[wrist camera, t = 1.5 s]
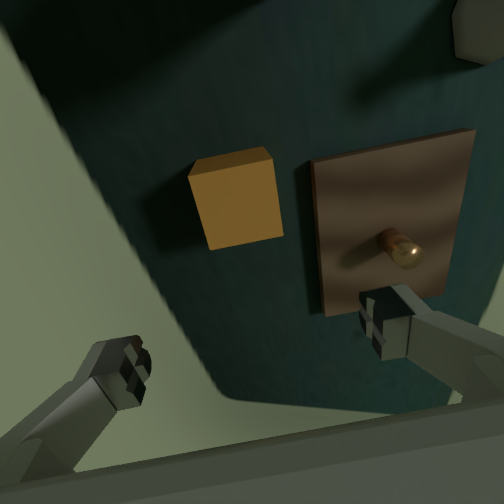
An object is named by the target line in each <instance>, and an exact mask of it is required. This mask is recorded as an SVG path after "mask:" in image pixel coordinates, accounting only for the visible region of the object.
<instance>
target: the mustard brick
mask: <svg viewBox="0 0 504 504" xmlns="http://www.w3.org/2000/svg"><path fill="white" fill-rule="evenodd" d="M188 179H189V182H190V185H191V189H192V192H193V195H194V199H195V202H196V205H197V209H198V212H199V215H200V219H201V222H202V225H203V229H204V232H205V235H206V239H207V242H208V245H209V249H210V250H214V249H219V248H224V247H229V246H234V245H239V244H244V243H249V242H254V241H259V240H264V239H269V238H274V237H279V236H283V229H282V222H281V215H280V208H279V201H278V194H277V187H276V180H275V173H274V166H273V159H272V158H271V156H270V155H269V154H268V152H267V151H266V150H265V148H264V147H263V146H261V147H257V148H252V149H247V150H242V151H237V152H233V153H228V154H223V155H218V156H214V157H209V158H204V159H199V160H196V162H195V164H194V166H193V168H192V170H191V172H190V174H189V175H188Z"/></svg>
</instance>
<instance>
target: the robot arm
mask: <svg viewBox="0 0 504 504" xmlns="http://www.w3.org/2000/svg"><path fill="white" fill-rule="evenodd" d="M359 301H360V303H361V304H362V306H361V308H360V309H359V319H360V323H361V326H362V328H363V331H364V332H365V334H366V336H368V337H370V338H372V346H373V348H374V349H375V351H376V353H377V354H378V356H379V358H380V359H381V361H383V360H389V359H396V358H402V357H407V358H408V359H409V360H411V361H412V362H414V363H415V364H417V365H418V366H420V367H421V368H423V369H424V370H426V371H427V372H429V373H430V374H432V375H433V376H435V377H436V378H438V379H439V380H440V381H442V382H443V383H445V384H446V385H448V386H449V387H451V388H452V389H454V390H455V391H457V392H458V393H460V394H461V395H463V397H462V401H461V403H457V404H451V405H446V406H440V407H435V408H429V409H424V410H418V411H413V412H407V413H402V414H396V415H391V416H385V417H380V418H374V419H369V420H363V421H358V422H353V423H348V424H342V425H336V426H331V427H325V428H320V429H315V430H309V431H304V432H298V433H292V434H287V435H282V436H276V437H271V438H265V439H260V440H254V441H248V442H243V443H237V444H232V445H227V446H221V447H215V448H210V449H204V450H199V451H193V452H188V453H182V454H177V455H171V456H166V457H160V458H155V459H149V460H144V461H138V462H133V463H127V464H122V465H116V466H111V467H106V468H100V469H94V470H88V471H83V472H77V473H76V472H75V471H74V470H73V468H74V467H75V466H76V464H77V463H78V462H79V461H80V459H81V458H82V456H83V455H84V454H85V453H86V451H87V450H88V449H89V448H90V446H91V445H92V444H93V443H94V441H95V440H96V439H97V437H98V436H99V435H100V433H101V432H102V431H103V430H104V428H105V427H106V426H107V425H108V423H109V422H110V421H111V420H112V418H113V417H114V416H115V414H116V413H117V411H119V410H124V409H129V408H133V407H137V406H141V403H142V400H143V397H144V393H145V390H146V387H145V385H144V382H145V381H146V380H147V379H148V378H149V377H150V373H151V358H150V355H149V353H148V351H147V350H145V349H143V348H142V347H141V346H142V344H143V341H142V340H141V338H140V336H138V335H133V336H127V337H122V338H115V339H110V340H105V341H99V342H96V343H95V344H93V345H92V347H91V349H90V351H89V352H88V354H87V356H86V358H85V360H84V361H83V363H82V365H81V366H80V368H79V370H78V372H77V373H76V375H75V377H74V379H73V380H72V381H69V382H67V383H66V384H64V386H62V387H61V388H60V389H59V390H58V391H56V392H55V393H54V394H53V395H51V396H50V397H49V398H48V399H47V400H45V401H44V402H43V403H42V404H41V405H39V406H38V407H37V408H36V409H35V410H33V411H32V412H31V413H30V414H29V415H28V416H26V417H25V418H24V419H23V420H22V421H21V422H19V423H18V424H17V425H16V426H14V427H13V428H12V429H11V430H10V431H9V432H7V433H6V434H5V435H4V436H3V437H1V438H0V504H504V337H503V336H501V335H499V334H496V333H493V332H491V331H488V330H486V329H483V328H480V327H478V326H475V325H473V324H470V323H468V322H465V321H462V320H460V319H457V318H455V317H452V316H449V315H447V314H444V313H442V312H439V311H435V312H433V311H432V310H431V309H430V308H429V307H428V306H427V305H426V304H425V303H424V302H423V301H422V300H421V299H420V298H419V297H418V296H417V295H416V294H415V293H414V292H413V291H412V290H411V289H410V288H409V287H408V286H407V285H406V284H405V283H403V282H401V283H397V284H392V285H388V286H384V287H379V288H374V289H369V290H364V291H360V293H359Z"/></svg>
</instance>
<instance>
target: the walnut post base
mask: <svg viewBox="0 0 504 504" xmlns="http://www.w3.org/2000/svg"><path fill="white" fill-rule="evenodd" d="M475 133H476V130H474V129H466V128H461V129H457V130H452V131H447V132H442V133H437V134H432V135H428V136H423V137H418V138H413V139H408V140H404V141H399V142H394V143H389V144H384V145H379V146H375V147H370V148H365V149H360V150H355V151H350V152H346V153H341V154H336V155H331V156H326V157H321V158H317V159H312V160H310V170H311V183H312V195H313V208H314V220H315V233H316V245H317V258H318V270H319V282H320V295H321V307H322V311H323V313H324V315H325V317H329V316H334V315H339V314H344V313H349V312H355V311H359V309H360V308H361V306H362V304H361V303H360V301H359V293H360V291H364V290H369V289H374V288H379V287H384V286H388V285H392V284H397V283H401V282H403V283H405V284H406V285H407V286H408V287H409V288H410V289H411V290H412V291H413V292H414V293H415V294H416V295H417V296H418V297H419V298H420V299H422V298H427V297H433V296H438V295H443V294H444V290H445V285H446V280H447V274H448V269H449V264H450V259H451V254H452V249H453V244H454V239H455V234H456V229H457V224H458V219H459V214H460V209H461V204H462V199H463V194H464V189H465V183H466V178H467V173H468V168H469V163H470V158H471V153H472V148H473V143H474V138H475Z"/></svg>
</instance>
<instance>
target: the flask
mask: <svg viewBox="0 0 504 504" xmlns="http://www.w3.org/2000/svg"><path fill="white" fill-rule="evenodd" d="M452 24H453V36H454V47H455V57H457V58H461V59H465V60H468V61H472V62H475V63H479V64H483V65H488V64H490V63H492V62H494V61H496V60H498V59H500V58H502V57H504V0H458V1H457V3H456V6H455V8H454V10H453V13H452Z"/></svg>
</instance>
